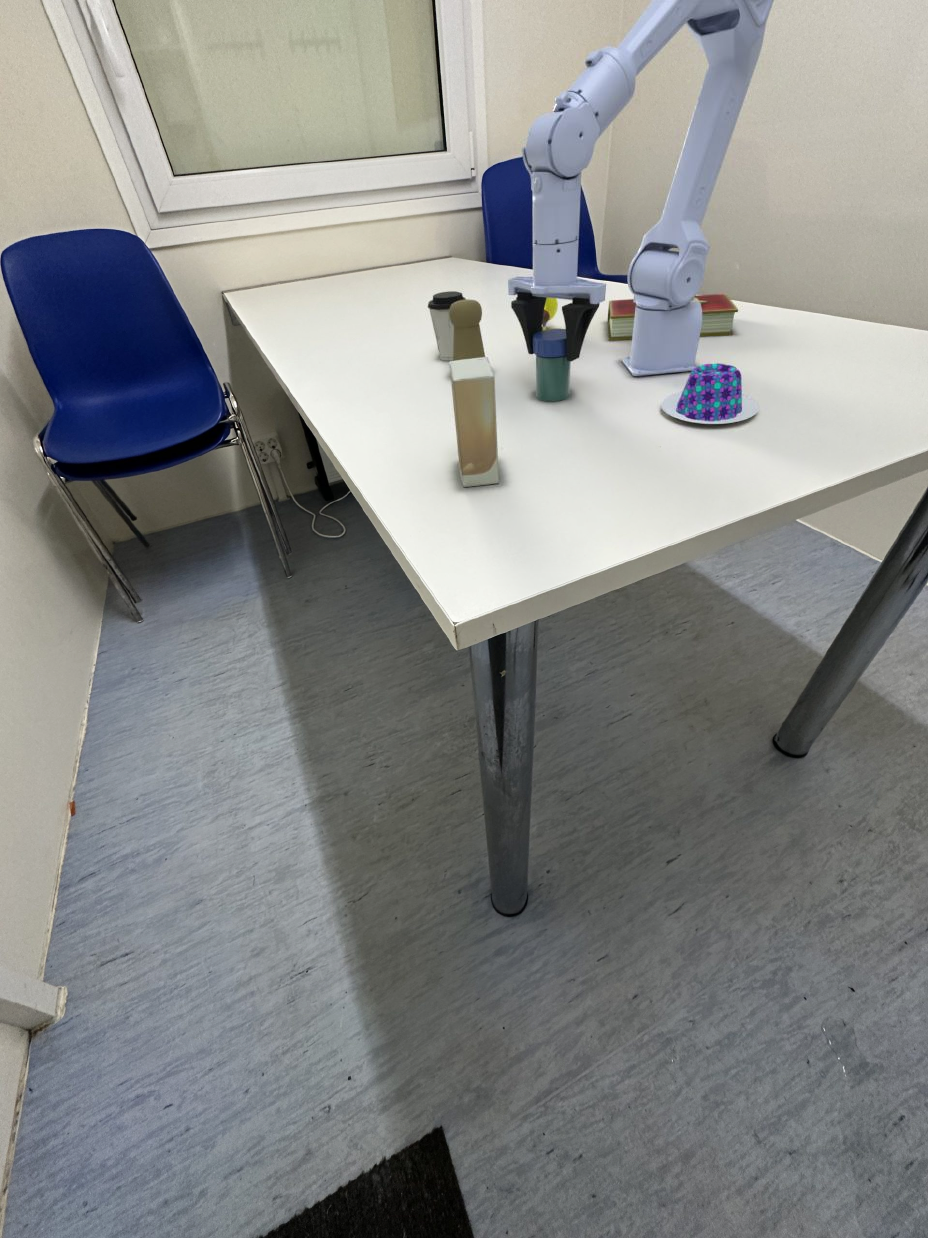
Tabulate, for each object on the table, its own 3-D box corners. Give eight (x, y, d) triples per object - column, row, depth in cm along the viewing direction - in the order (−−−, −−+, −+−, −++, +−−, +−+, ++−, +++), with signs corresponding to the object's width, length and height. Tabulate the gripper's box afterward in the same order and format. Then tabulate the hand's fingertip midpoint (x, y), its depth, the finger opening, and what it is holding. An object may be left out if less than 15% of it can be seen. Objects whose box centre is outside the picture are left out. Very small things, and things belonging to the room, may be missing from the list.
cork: (484, 380, 89) (480, 304, 81) (448, 381, 90) (441, 306, 83) (491, 367, 93) (487, 294, 86) (456, 368, 94) (450, 296, 87)
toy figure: (531, 319, 114) (530, 281, 110) (557, 317, 113) (558, 279, 109) (526, 344, 101) (525, 303, 97) (556, 343, 100) (557, 301, 96)
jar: (566, 387, 83) (568, 330, 78) (572, 399, 79) (574, 340, 74) (533, 390, 83) (533, 334, 78) (537, 403, 79) (537, 344, 74)
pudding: (726, 389, 77) (735, 349, 74) (776, 420, 68) (789, 377, 65) (645, 401, 76) (650, 362, 73) (685, 435, 67) (693, 392, 64)
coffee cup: (427, 361, 99) (419, 299, 92) (443, 350, 103) (436, 289, 97) (462, 363, 96) (457, 299, 90) (476, 350, 101) (472, 289, 94)
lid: (570, 343, 79) (570, 326, 78) (577, 355, 75) (577, 337, 73) (531, 347, 79) (531, 330, 78) (535, 359, 75) (535, 341, 74)
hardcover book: (607, 322, 107) (609, 298, 104) (720, 316, 103) (725, 291, 101) (608, 340, 99) (610, 314, 96) (732, 334, 95) (738, 307, 92)
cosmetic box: (458, 464, 67) (448, 359, 59) (493, 460, 67) (487, 354, 59) (462, 489, 62) (451, 378, 54) (500, 485, 62) (494, 373, 54)
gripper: (491, 244, 71) (496, 356, 80) (585, 248, 62) (579, 371, 71) (525, 235, 74) (527, 342, 83) (619, 237, 66) (609, 356, 75)
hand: (553, 355), depth 77 cm, fingers open, 6 cm apart
